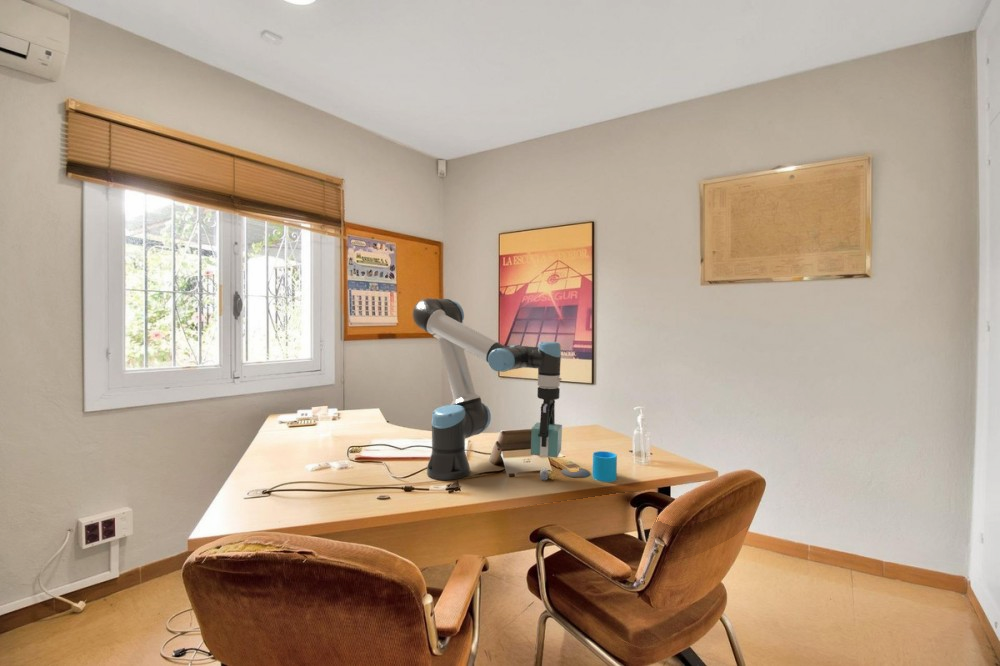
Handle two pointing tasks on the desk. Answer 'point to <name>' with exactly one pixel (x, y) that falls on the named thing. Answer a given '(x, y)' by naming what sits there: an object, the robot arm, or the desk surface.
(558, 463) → the desk surface
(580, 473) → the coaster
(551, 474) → the marble amber
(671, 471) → the desk surface
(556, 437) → the matte teal cube
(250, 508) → the desk surface
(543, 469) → the marble white
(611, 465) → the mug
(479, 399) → the robot arm
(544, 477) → the marble slate
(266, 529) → the desk surface
